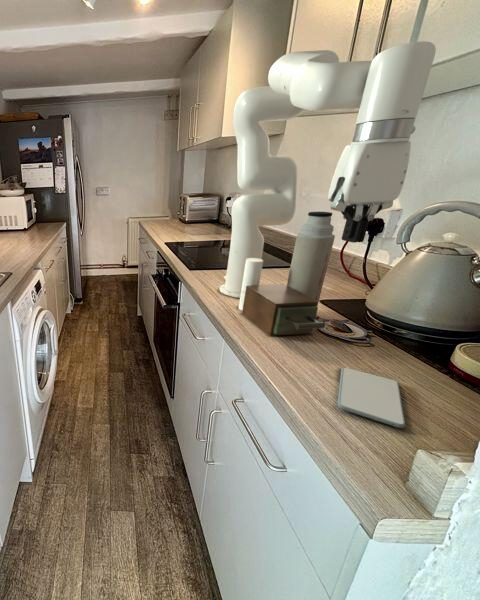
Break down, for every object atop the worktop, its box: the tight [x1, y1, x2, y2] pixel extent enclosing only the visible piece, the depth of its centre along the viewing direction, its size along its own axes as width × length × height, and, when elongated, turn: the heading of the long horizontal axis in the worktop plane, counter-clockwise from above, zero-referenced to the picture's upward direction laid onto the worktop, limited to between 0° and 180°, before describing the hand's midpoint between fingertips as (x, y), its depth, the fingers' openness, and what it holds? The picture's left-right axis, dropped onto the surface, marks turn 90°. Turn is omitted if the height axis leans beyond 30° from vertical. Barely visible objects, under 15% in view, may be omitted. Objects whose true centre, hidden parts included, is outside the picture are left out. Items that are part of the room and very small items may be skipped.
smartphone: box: [336, 366, 406, 429], centre depth 56 cm, size 8×1×15 cm
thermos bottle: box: [286, 211, 336, 307], centre depth 85 cm, size 8×8×28 cm
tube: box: [238, 258, 264, 312], centre depth 91 cm, size 4×4×15 cm
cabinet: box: [241, 283, 319, 337], centre depth 83 cm, size 14×10×9 cm
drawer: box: [273, 305, 326, 336], centre depth 79 cm, size 17×9×7 cm, turn 2°
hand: (351, 240), depth 61 cm, fingers closed
